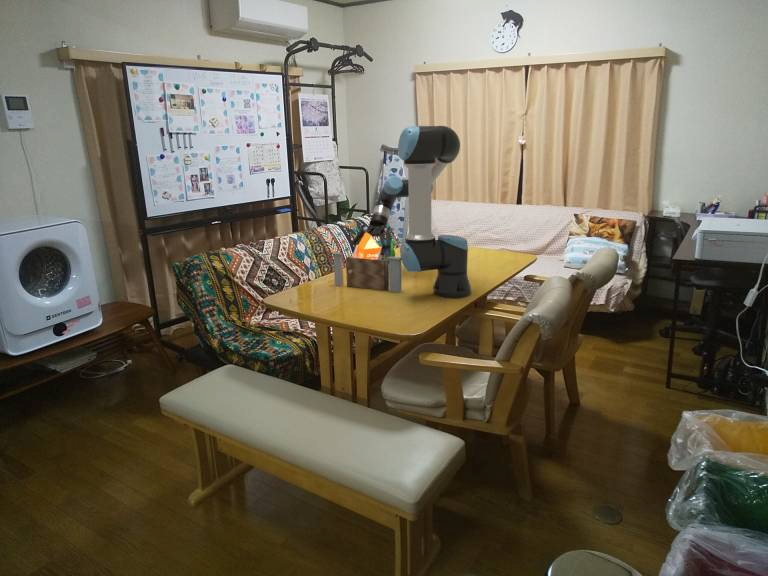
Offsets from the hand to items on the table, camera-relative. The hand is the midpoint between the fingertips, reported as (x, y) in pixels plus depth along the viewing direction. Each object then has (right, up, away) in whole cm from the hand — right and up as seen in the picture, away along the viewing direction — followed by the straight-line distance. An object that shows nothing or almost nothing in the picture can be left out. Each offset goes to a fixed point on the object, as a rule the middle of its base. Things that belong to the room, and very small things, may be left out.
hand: (365, 260), depth 226 cm
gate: (+1, -12, -5) cm, 13 cm away
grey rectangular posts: (0, -12, -4) cm, 13 cm away
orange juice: (+2, -8, +5) cm, 10 cm away
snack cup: (+8, +1, +41) cm, 42 cm away
